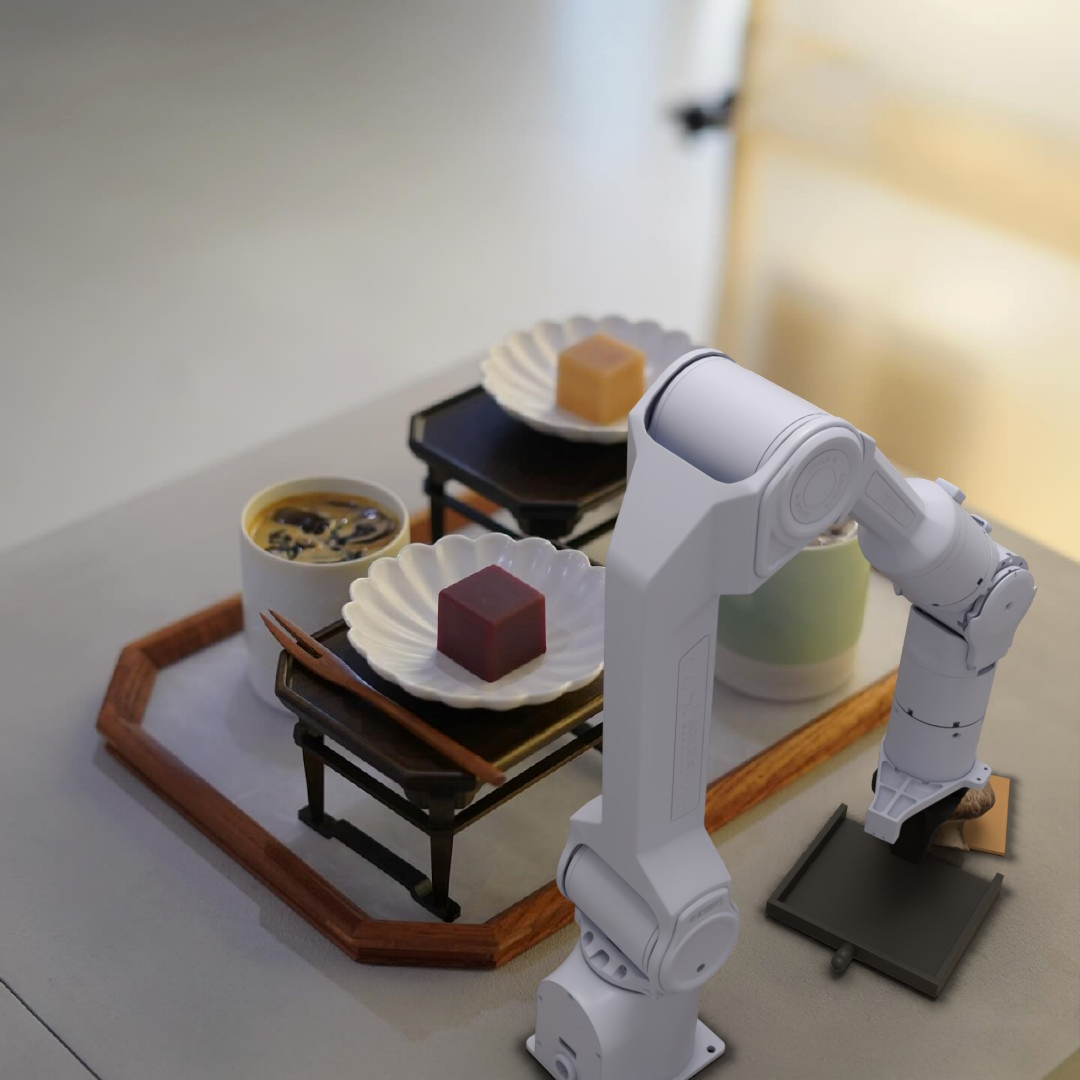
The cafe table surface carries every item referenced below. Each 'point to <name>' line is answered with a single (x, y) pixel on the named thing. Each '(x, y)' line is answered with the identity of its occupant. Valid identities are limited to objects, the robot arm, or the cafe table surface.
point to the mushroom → (964, 817)
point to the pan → (883, 905)
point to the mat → (991, 821)
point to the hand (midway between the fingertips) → (907, 853)
